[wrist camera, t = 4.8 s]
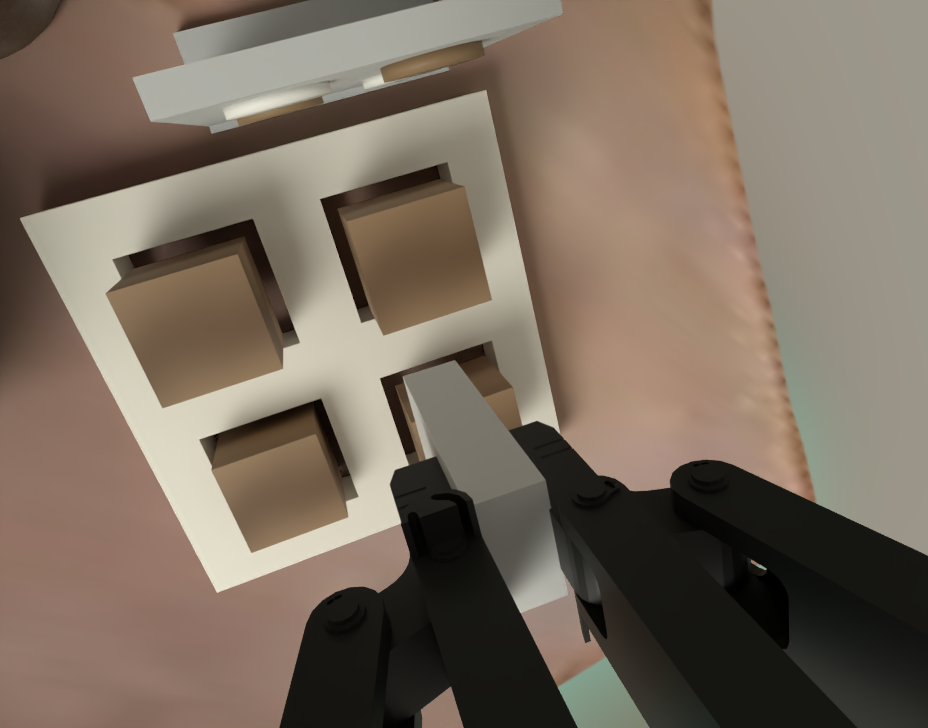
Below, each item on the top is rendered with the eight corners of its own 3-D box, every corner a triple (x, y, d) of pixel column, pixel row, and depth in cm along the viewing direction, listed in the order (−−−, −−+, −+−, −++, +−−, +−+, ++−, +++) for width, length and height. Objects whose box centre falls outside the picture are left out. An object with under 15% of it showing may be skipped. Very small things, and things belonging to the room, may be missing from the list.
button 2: (132, 269, 27) (105, 293, 23) (244, 236, 28) (237, 254, 23) (179, 369, 29) (162, 408, 25) (283, 336, 29) (283, 368, 25)
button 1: (220, 427, 32) (211, 470, 28) (311, 396, 33) (315, 433, 29) (255, 503, 34) (251, 553, 30) (341, 472, 35) (348, 517, 31)
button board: (41, 211, 28) (19, 218, 25) (471, 93, 31) (486, 89, 28) (221, 563, 35) (217, 592, 33) (549, 441, 38) (565, 461, 36)
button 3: (395, 385, 32) (411, 423, 28) (484, 355, 32) (513, 387, 28) (420, 464, 34) (439, 510, 30) (504, 434, 34) (534, 474, 30)
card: (175, 35, 27) (77, -53, 14) (422, -24, 28) (535, -152, 16) (214, 135, 28) (157, 138, 16) (445, 74, 30) (565, 30, 17)
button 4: (337, 208, 28) (346, 221, 24) (439, 179, 29) (464, 186, 25) (369, 308, 30) (383, 335, 26) (464, 277, 31) (492, 300, 27)
